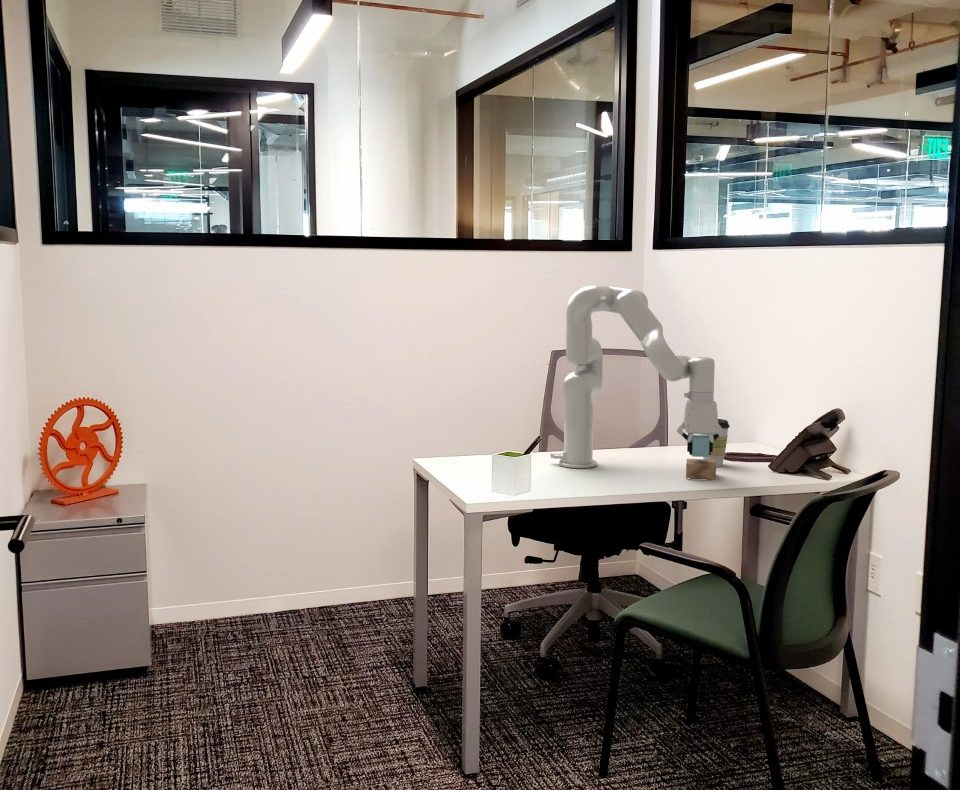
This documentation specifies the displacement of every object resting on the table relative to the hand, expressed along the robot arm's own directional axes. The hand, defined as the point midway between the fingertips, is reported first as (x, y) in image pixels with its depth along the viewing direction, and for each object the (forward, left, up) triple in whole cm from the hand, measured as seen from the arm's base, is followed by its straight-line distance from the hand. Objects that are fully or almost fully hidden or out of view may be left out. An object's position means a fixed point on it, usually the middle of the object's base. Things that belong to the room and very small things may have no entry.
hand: (699, 453), depth 291 cm
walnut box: (0, 0, -8) cm, 8 cm away
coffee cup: (+7, +19, -8) cm, 22 cm away
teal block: (0, 0, -1) cm, 1 cm away
